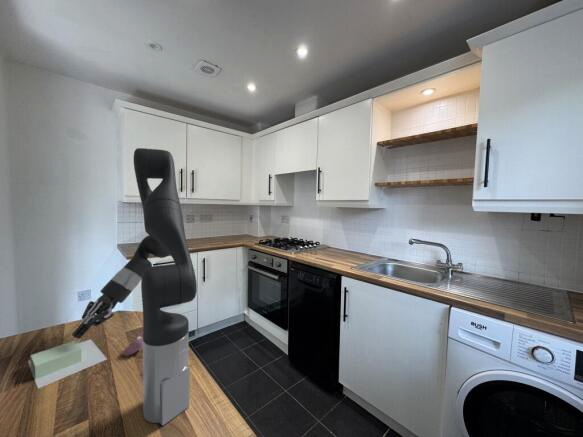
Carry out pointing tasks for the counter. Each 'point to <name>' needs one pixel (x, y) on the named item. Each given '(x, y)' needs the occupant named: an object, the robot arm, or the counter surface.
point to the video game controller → (134, 345)
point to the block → (55, 359)
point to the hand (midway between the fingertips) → (75, 337)
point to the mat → (88, 358)
